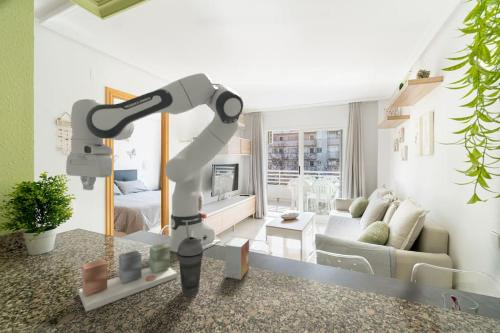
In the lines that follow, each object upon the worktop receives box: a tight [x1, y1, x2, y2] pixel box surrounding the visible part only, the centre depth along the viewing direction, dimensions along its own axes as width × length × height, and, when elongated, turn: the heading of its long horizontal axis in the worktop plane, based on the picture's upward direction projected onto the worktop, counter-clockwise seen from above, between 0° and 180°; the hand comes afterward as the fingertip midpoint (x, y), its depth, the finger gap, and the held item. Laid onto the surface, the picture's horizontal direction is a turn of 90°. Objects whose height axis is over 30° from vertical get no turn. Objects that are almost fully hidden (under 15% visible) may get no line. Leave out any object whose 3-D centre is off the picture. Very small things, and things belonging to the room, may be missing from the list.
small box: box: [224, 237, 250, 280], centre depth 77 cm, size 8×6×10 cm
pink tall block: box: [81, 258, 108, 296], centre depth 63 cm, size 5×4×7 cm
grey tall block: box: [118, 250, 142, 283], centre depth 69 cm, size 5×4×7 cm
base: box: [78, 266, 178, 313], centre depth 69 cm, size 24×10×2 cm, turn 134°
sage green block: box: [149, 243, 171, 272], centre depth 76 cm, size 5×4×7 cm
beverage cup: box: [176, 222, 204, 297], centre depth 65 cm, size 7×7×20 cm
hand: (88, 189), depth 78 cm, fingers closed
